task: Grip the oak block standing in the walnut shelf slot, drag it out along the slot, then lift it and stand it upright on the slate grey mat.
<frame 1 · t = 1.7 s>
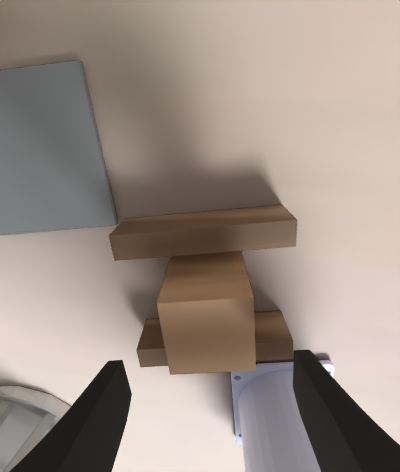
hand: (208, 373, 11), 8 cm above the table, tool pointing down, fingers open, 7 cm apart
oak block: (208, 276, 19), on the table
vase: (27, 434, 26), on the table
slate mat: (28, 158, 16), on the table
shelf slot: (208, 277, 19), on the table
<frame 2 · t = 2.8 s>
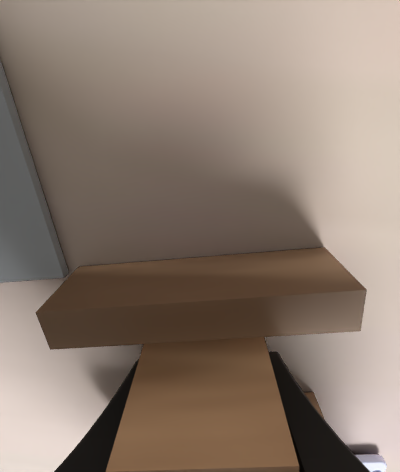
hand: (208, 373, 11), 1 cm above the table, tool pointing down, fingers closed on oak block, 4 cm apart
oak block: (208, 347, 13), on the table, touching gripper
shelf slot: (208, 347, 13), on the table
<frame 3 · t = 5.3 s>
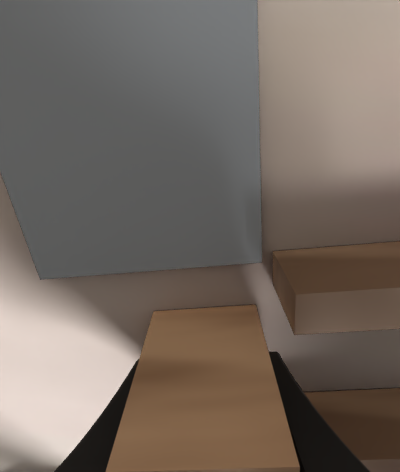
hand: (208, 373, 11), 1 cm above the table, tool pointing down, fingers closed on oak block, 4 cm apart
oak block: (208, 347, 13), on the table, touching gripper
slate mat: (128, 153, 9), on the table
shelf slot: (385, 337, 12), on the table
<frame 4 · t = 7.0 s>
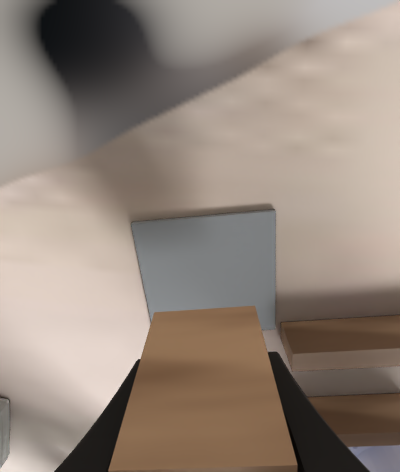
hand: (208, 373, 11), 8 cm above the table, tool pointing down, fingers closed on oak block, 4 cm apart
oak block: (208, 347, 13), point 6 cm above the table, touching gripper
slate mat: (208, 277, 19), on the table
shelf slot: (344, 366, 21), on the table
when the fingers open (3 cm above the table, at t = 8.2 s): oak block drops 1 cm, resting on slate mat.
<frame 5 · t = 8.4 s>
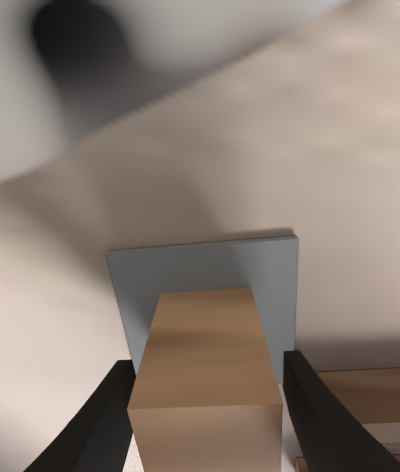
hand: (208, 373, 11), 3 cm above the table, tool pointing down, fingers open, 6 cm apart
oak block: (208, 326, 14), resting on slate mat
slate mat: (208, 319, 14), on the table
shelf slot: (376, 423, 17), on the table
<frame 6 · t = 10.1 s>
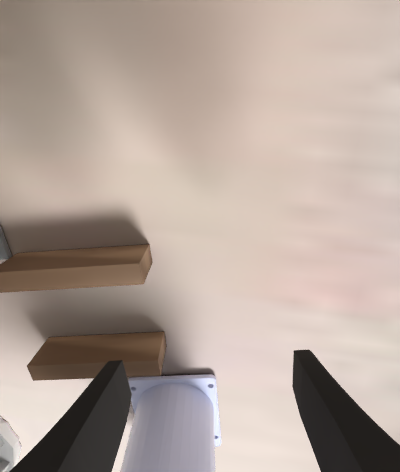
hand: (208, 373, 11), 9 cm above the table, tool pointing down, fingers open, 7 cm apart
shelf slot: (97, 302, 21), on the table
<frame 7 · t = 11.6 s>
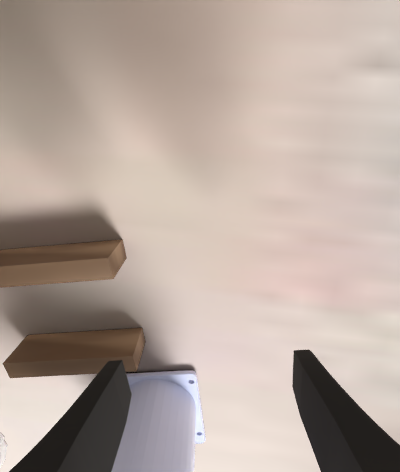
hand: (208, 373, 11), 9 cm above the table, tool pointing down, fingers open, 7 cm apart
shelf slot: (73, 299, 21), on the table
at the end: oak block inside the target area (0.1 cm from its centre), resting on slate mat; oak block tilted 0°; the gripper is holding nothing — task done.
